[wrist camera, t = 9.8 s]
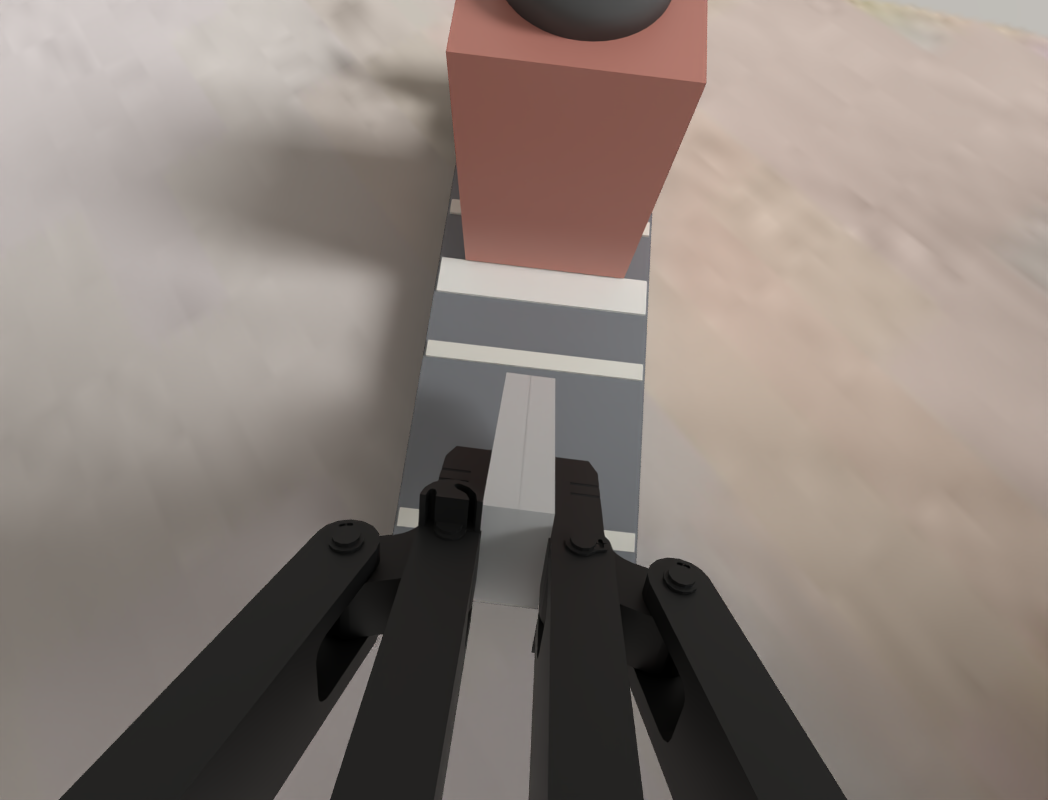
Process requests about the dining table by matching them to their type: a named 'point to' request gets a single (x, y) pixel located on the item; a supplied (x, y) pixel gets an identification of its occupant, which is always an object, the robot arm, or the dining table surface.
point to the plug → (569, 123)
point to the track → (534, 369)
